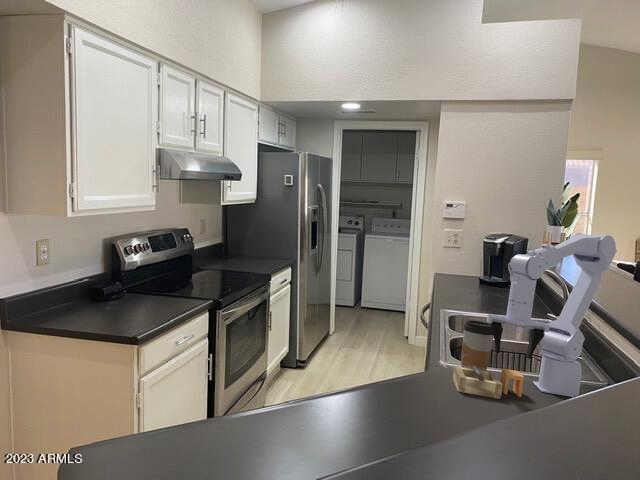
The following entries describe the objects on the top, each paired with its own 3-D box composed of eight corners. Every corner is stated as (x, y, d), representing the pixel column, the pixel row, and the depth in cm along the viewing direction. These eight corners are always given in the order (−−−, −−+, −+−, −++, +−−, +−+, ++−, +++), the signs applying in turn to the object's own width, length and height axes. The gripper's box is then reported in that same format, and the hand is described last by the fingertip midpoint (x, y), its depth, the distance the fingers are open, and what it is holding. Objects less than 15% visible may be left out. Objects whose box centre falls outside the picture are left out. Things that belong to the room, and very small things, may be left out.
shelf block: (491, 386, 124) (494, 368, 124) (500, 398, 114) (503, 379, 114) (452, 379, 125) (455, 361, 125) (458, 391, 115) (460, 372, 115)
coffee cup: (453, 370, 134) (460, 318, 133) (482, 374, 134) (489, 322, 133) (461, 380, 125) (469, 324, 125) (493, 384, 125) (500, 328, 125)
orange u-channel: (516, 390, 123) (518, 371, 123) (521, 396, 118) (524, 377, 118) (499, 387, 123) (502, 368, 123) (503, 393, 118) (506, 374, 118)
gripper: (493, 299, 117) (485, 353, 117) (555, 309, 114) (547, 364, 114) (489, 296, 124) (481, 347, 124) (548, 305, 121) (540, 357, 121)
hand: (512, 355), depth 120 cm, fingers open, 7 cm apart
